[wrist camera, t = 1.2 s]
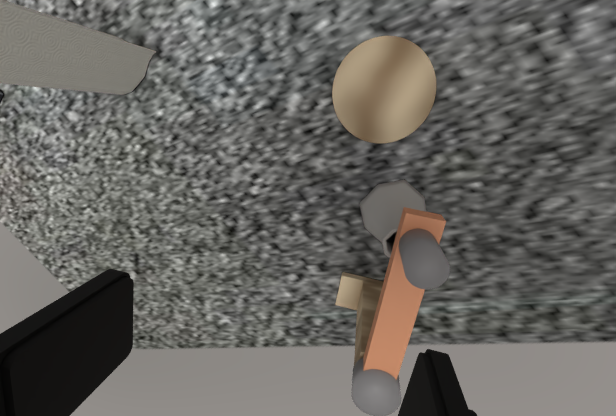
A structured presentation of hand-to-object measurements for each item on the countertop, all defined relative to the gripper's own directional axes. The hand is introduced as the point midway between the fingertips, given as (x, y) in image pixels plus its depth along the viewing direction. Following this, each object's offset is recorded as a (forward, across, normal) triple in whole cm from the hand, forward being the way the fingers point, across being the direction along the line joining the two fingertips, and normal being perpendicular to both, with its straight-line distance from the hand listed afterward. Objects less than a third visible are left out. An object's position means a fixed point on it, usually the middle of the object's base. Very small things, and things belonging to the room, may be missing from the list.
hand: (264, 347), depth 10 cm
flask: (+27, -7, +2) cm, 28 cm away
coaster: (+27, -3, -10) cm, 29 cm away
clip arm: (+14, -7, +6) cm, 16 cm away
